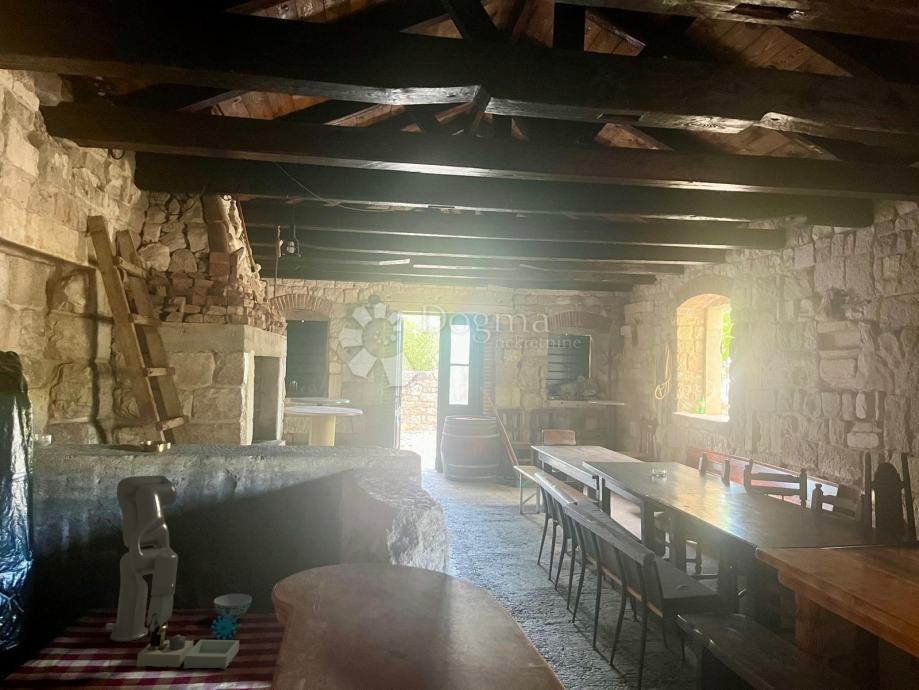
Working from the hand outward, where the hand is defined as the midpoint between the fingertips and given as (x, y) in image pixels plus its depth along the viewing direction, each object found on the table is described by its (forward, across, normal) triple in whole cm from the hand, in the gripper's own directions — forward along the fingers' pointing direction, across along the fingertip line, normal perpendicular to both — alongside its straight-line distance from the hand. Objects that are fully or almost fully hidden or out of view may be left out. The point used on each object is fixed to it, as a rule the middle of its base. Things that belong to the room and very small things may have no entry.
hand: (158, 642), depth 203 cm
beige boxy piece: (+5, 0, +3) cm, 6 cm away
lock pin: (+5, 0, 0) cm, 5 cm away
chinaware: (+6, -40, +13) cm, 42 cm away
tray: (+5, 0, +19) cm, 20 cm away
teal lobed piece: (+6, -20, +17) cm, 27 cm away
